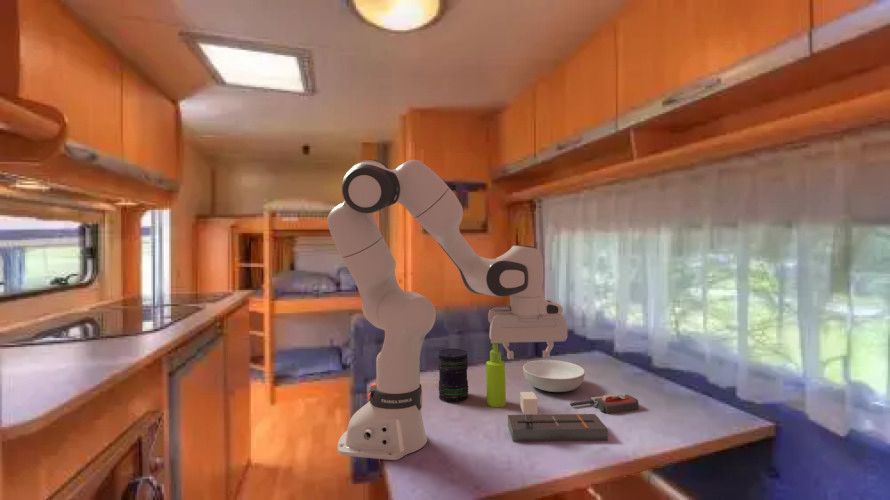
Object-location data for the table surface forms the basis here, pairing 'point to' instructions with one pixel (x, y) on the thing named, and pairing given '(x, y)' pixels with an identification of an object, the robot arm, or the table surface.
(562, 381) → the serving bowl
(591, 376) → the table surface
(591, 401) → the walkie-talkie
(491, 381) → the soap dispenser
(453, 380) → the black ridged cylinder
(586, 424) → the fader panel
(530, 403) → the fader knob
